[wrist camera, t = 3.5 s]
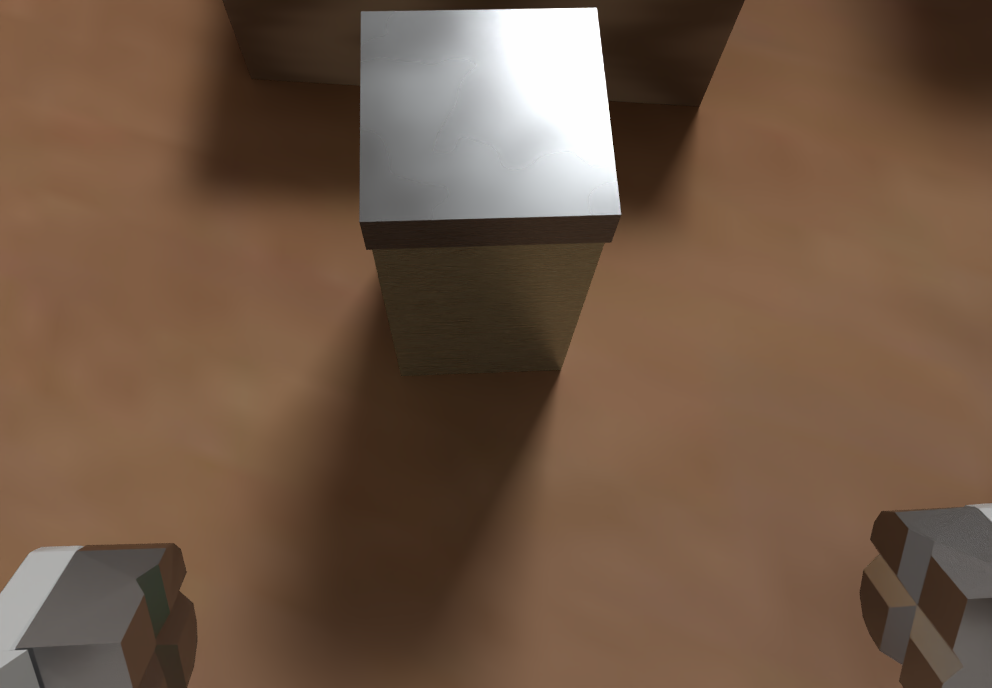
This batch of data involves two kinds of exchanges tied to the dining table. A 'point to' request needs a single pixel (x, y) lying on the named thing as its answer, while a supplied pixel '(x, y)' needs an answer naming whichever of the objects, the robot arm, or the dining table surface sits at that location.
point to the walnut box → (620, 8)
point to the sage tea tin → (484, 181)
